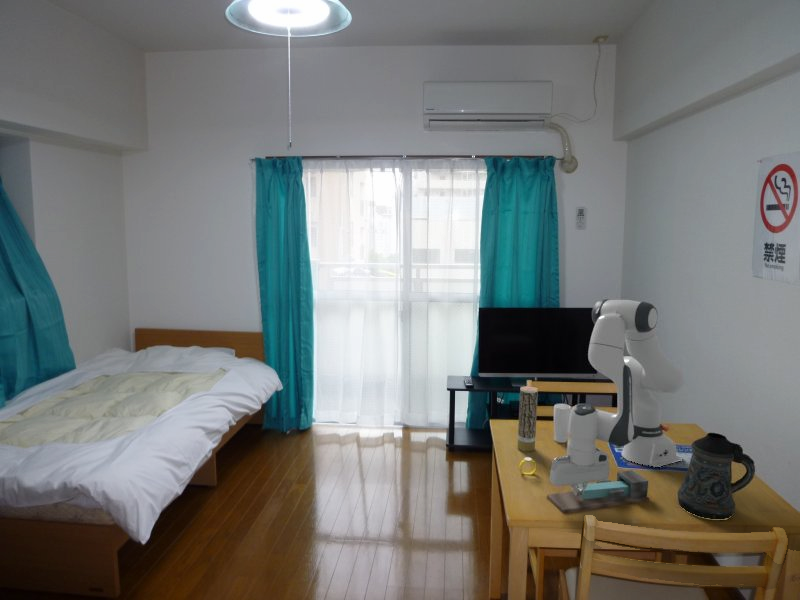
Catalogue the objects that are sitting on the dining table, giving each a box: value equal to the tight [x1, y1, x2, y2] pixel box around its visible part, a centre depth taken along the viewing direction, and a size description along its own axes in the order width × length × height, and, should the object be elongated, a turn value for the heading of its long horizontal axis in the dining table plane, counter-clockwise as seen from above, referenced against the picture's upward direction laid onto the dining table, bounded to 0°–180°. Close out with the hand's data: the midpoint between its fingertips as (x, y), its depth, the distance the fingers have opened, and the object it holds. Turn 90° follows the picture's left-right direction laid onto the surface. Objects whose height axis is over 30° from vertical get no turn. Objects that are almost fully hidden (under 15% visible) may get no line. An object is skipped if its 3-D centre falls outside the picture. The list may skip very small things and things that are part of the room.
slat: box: [576, 480, 631, 499], centre depth 188 cm, size 20×4×3 cm, turn 102°
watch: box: [518, 456, 538, 476], centre depth 203 cm, size 6×3×6 cm, turn 89°
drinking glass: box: [553, 403, 572, 444], centre depth 233 cm, size 7×7×15 cm
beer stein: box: [677, 432, 756, 519], centre depth 180 cm, size 16×19×25 cm
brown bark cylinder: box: [517, 385, 539, 453], centre depth 224 cm, size 7×7×25 cm
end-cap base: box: [546, 469, 650, 514], centre depth 186 cm, size 32×10×6 cm, turn 105°
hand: (578, 494), depth 184 cm, fingers closed
